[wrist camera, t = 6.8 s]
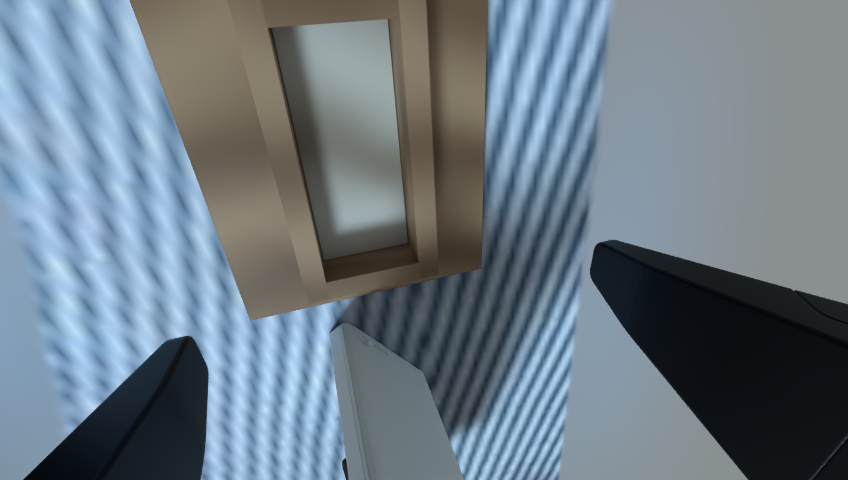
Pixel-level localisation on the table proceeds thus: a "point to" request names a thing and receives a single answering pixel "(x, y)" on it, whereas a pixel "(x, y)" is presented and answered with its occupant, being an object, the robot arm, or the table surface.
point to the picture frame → (330, 138)
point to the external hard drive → (387, 413)
